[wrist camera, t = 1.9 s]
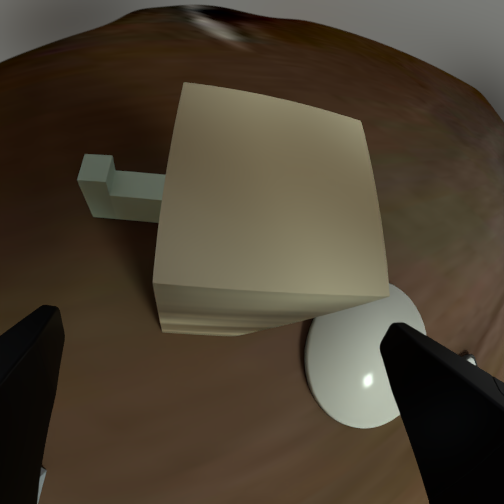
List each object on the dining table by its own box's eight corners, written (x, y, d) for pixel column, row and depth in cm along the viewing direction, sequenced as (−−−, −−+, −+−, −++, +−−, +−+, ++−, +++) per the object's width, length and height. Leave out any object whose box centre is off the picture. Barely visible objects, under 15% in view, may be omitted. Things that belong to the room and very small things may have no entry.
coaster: (437, 333, 21) (443, 332, 21) (380, 448, 17) (386, 450, 17) (353, 252, 21) (358, 249, 20) (272, 377, 17) (275, 378, 16)
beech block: (234, 336, 17) (389, 296, 5) (162, 332, 16) (152, 282, 4) (235, 266, 18) (361, 121, 6) (166, 261, 17) (184, 82, 6)
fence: (308, 238, 20) (342, 211, 16) (93, 216, 17) (77, 180, 13) (307, 217, 21) (339, 186, 17) (98, 194, 17) (84, 154, 13)
